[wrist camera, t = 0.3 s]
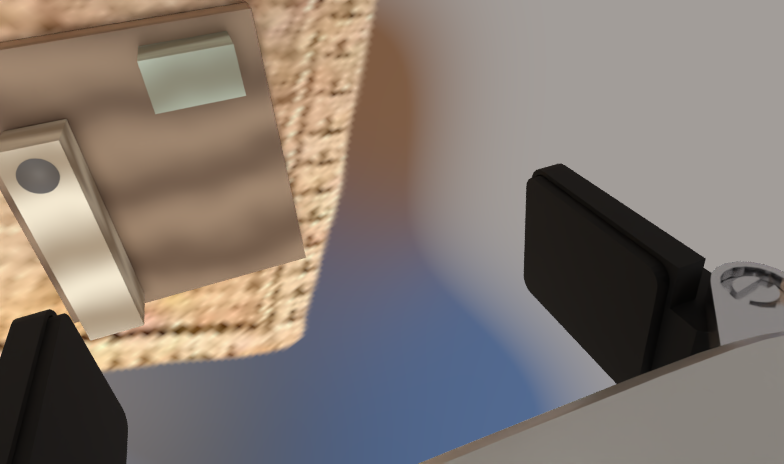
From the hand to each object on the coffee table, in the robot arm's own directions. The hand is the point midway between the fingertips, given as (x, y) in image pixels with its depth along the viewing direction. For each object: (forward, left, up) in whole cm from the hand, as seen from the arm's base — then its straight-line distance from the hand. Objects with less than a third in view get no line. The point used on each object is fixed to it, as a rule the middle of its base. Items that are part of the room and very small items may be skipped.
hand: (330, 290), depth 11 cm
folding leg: (+14, -13, -33) cm, 38 cm away
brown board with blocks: (+12, -7, -36) cm, 39 cm away
